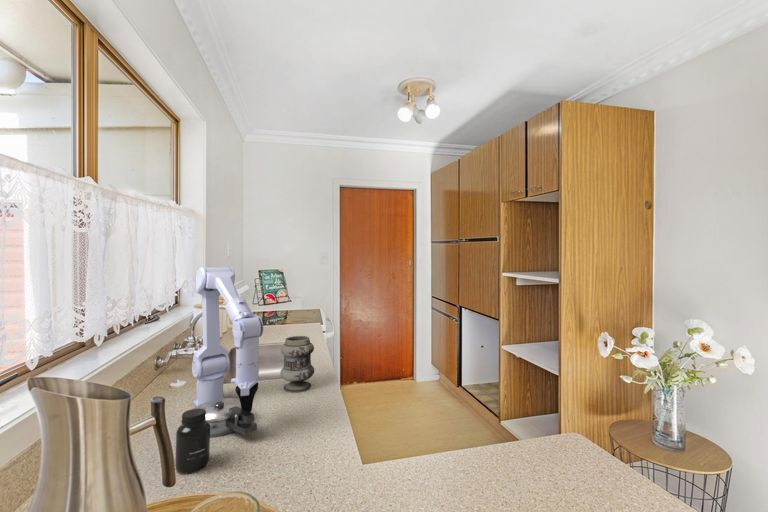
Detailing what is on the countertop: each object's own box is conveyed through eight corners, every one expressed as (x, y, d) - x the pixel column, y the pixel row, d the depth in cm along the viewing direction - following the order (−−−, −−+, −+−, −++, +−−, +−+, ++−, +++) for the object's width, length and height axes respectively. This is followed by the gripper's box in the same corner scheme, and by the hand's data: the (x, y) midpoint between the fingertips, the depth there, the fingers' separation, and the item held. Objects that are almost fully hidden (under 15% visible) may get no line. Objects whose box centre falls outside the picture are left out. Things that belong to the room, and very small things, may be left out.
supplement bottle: (194, 476, 75) (195, 421, 75) (167, 472, 76) (168, 417, 76) (216, 458, 82) (216, 407, 82) (191, 455, 83) (191, 404, 83)
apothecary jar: (295, 379, 135) (296, 332, 135) (321, 385, 129) (321, 336, 129) (272, 390, 124) (273, 339, 124) (299, 396, 118) (299, 343, 118)
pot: (183, 428, 96) (183, 404, 96) (227, 411, 107) (227, 389, 107) (227, 452, 84) (227, 425, 84) (271, 430, 95) (271, 406, 95)
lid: (181, 412, 96) (181, 403, 96) (228, 396, 107) (228, 388, 107) (225, 436, 84) (225, 425, 84) (272, 415, 95) (272, 406, 95)
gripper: (234, 355, 100) (234, 402, 100) (227, 372, 86) (227, 426, 86) (260, 353, 102) (260, 400, 102) (258, 369, 88) (257, 423, 88)
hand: (246, 412), depth 94 cm, fingers closed
